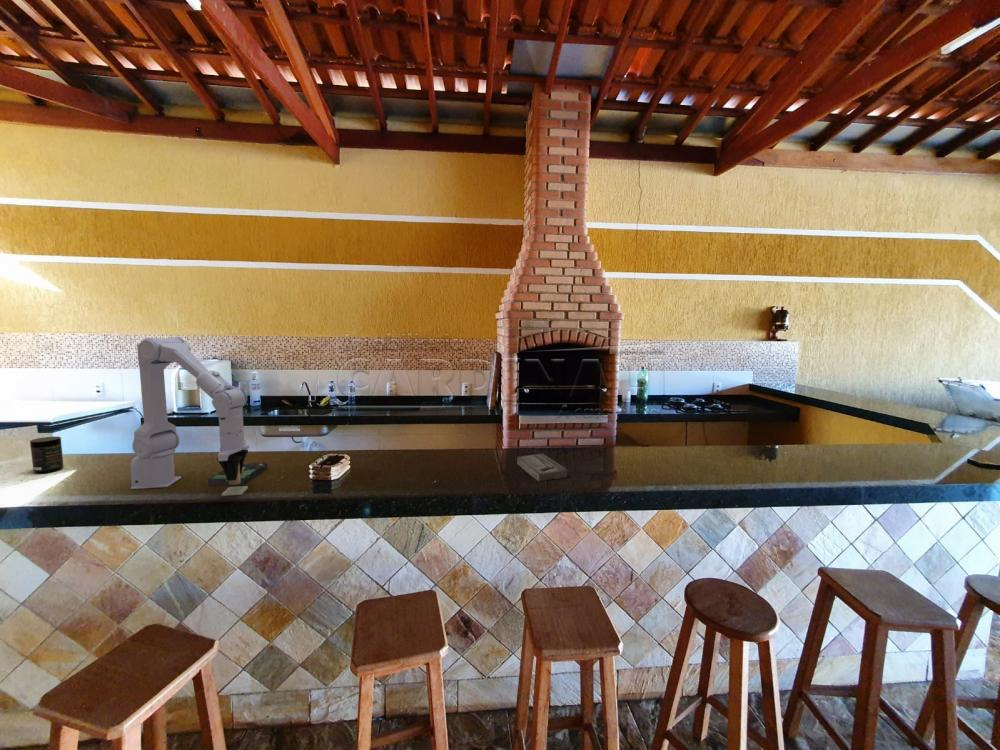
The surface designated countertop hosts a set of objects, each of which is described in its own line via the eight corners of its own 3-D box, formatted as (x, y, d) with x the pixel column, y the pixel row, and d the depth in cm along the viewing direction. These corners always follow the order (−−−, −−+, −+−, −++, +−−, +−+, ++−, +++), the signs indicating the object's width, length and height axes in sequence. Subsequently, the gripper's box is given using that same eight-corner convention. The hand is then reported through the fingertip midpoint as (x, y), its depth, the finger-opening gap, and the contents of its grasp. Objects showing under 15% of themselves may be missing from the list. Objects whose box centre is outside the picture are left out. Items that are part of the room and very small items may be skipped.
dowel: (227, 485, 117) (226, 464, 117) (231, 481, 120) (230, 461, 119) (238, 484, 118) (237, 464, 117) (242, 481, 121) (240, 460, 120)
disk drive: (235, 471, 138) (207, 487, 124) (235, 462, 138) (207, 478, 123) (268, 470, 139) (244, 486, 124) (267, 462, 139) (243, 477, 124)
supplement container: (70, 467, 137) (67, 436, 136) (50, 474, 131) (46, 441, 130) (47, 467, 137) (44, 436, 136) (26, 474, 130) (22, 442, 129)
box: (542, 460, 151) (542, 452, 151) (568, 477, 135) (568, 468, 135) (516, 464, 147) (516, 456, 147) (538, 483, 131) (538, 473, 131)
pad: (221, 495, 116) (221, 493, 116) (228, 489, 121) (228, 487, 121) (241, 494, 117) (241, 492, 117) (248, 487, 122) (247, 485, 122)
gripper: (237, 437, 111) (240, 486, 113) (256, 425, 125) (258, 468, 127) (207, 438, 110) (211, 488, 111) (229, 425, 124) (232, 470, 125)
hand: (234, 477), depth 119 cm, fingers closed on dowel, 3 cm apart
